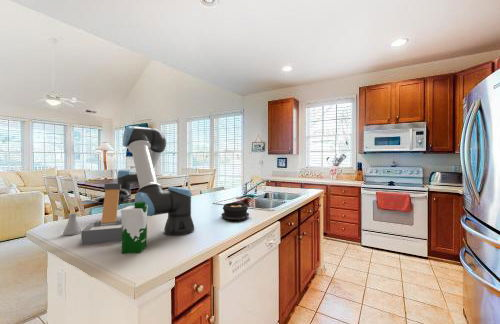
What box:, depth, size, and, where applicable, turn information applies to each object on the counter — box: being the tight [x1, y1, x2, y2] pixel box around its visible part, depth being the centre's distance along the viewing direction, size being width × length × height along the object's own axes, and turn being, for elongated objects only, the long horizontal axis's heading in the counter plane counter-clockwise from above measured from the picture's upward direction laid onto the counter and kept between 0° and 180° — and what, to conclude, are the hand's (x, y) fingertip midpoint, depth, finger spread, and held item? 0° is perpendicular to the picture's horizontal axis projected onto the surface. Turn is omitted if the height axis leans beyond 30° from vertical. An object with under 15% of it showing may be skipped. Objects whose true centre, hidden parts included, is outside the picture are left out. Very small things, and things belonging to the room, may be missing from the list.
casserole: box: [220, 202, 250, 221], centre depth 150 cm, size 25×19×8 cm
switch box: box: [80, 218, 122, 246], centre depth 110 cm, size 14×18×8 cm
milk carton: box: [120, 201, 148, 255], centre depth 94 cm, size 9×9×20 cm
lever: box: [101, 182, 121, 224], centre depth 114 cm, size 3×7×20 cm, turn 111°
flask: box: [62, 212, 82, 236], centre depth 115 cm, size 7×7×10 cm
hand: (113, 202), depth 120 cm, fingers closed
